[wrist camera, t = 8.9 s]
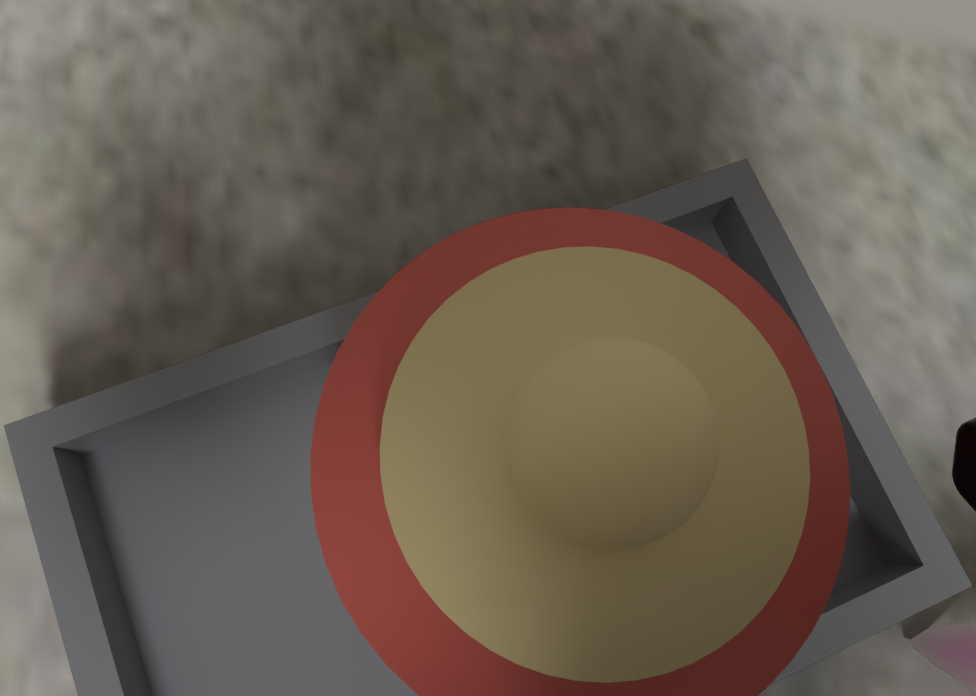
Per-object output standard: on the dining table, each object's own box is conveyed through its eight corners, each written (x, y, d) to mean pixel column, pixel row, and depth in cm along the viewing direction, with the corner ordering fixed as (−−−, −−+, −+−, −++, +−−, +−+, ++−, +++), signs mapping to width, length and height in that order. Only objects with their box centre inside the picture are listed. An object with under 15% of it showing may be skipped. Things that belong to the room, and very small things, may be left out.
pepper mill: (653, 497, 19) (1099, 367, 6) (517, 693, 18) (744, 1019, 5) (474, 359, 19) (560, -8, 7) (329, 539, 18) (108, 486, 6)
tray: (905, 583, 20) (972, 585, 17) (195, 923, 17) (157, 984, 14) (711, 201, 22) (746, 158, 20) (56, 442, 19) (3, 425, 17)
